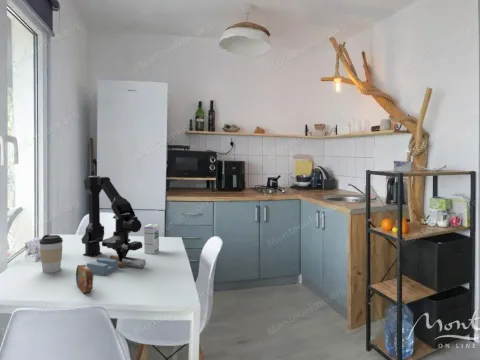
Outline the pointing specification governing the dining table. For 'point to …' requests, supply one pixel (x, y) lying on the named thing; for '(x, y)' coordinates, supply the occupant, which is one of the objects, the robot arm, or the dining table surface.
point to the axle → (134, 262)
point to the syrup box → (151, 238)
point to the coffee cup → (51, 253)
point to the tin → (84, 278)
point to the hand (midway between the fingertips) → (121, 262)
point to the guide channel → (120, 265)
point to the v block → (103, 266)
